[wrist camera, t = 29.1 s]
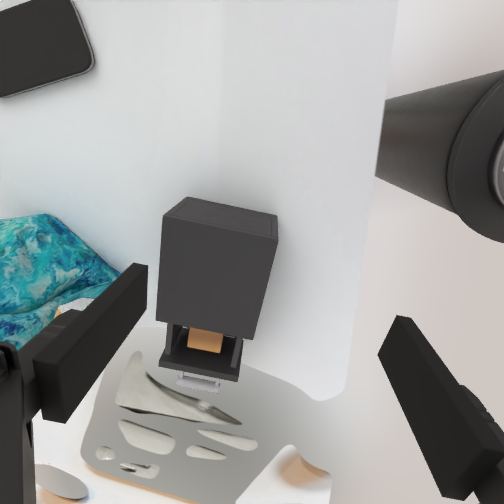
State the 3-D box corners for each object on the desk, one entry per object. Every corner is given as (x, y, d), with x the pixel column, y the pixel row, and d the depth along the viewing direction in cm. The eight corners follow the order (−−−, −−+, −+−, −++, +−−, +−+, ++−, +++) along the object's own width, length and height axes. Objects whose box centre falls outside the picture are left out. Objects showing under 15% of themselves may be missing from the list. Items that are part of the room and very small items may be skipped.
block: (225, 331, 46) (219, 353, 42) (195, 325, 46) (187, 347, 42) (229, 306, 44) (224, 327, 40) (198, 300, 44) (190, 320, 40)
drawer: (236, 371, 51) (230, 410, 44) (172, 358, 51) (156, 395, 44) (258, 279, 43) (255, 308, 36) (182, 263, 43) (164, 289, 36)
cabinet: (256, 299, 46) (252, 340, 37) (177, 283, 46) (155, 320, 37) (277, 215, 40) (278, 240, 31) (186, 196, 40) (162, 215, 31)
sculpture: (9, 185, 41) (-324, 258, 18) (144, 269, 45) (12, 414, 22) (-5, 228, 44) (-306, 337, 21) (123, 303, 48) (-13, 461, 25)
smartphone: (-49, 27, 33) (64, -14, 30) (-41, 30, 33) (70, -10, 31) (-11, 100, 35) (95, 67, 33) (-4, 101, 36) (99, 69, 34)
